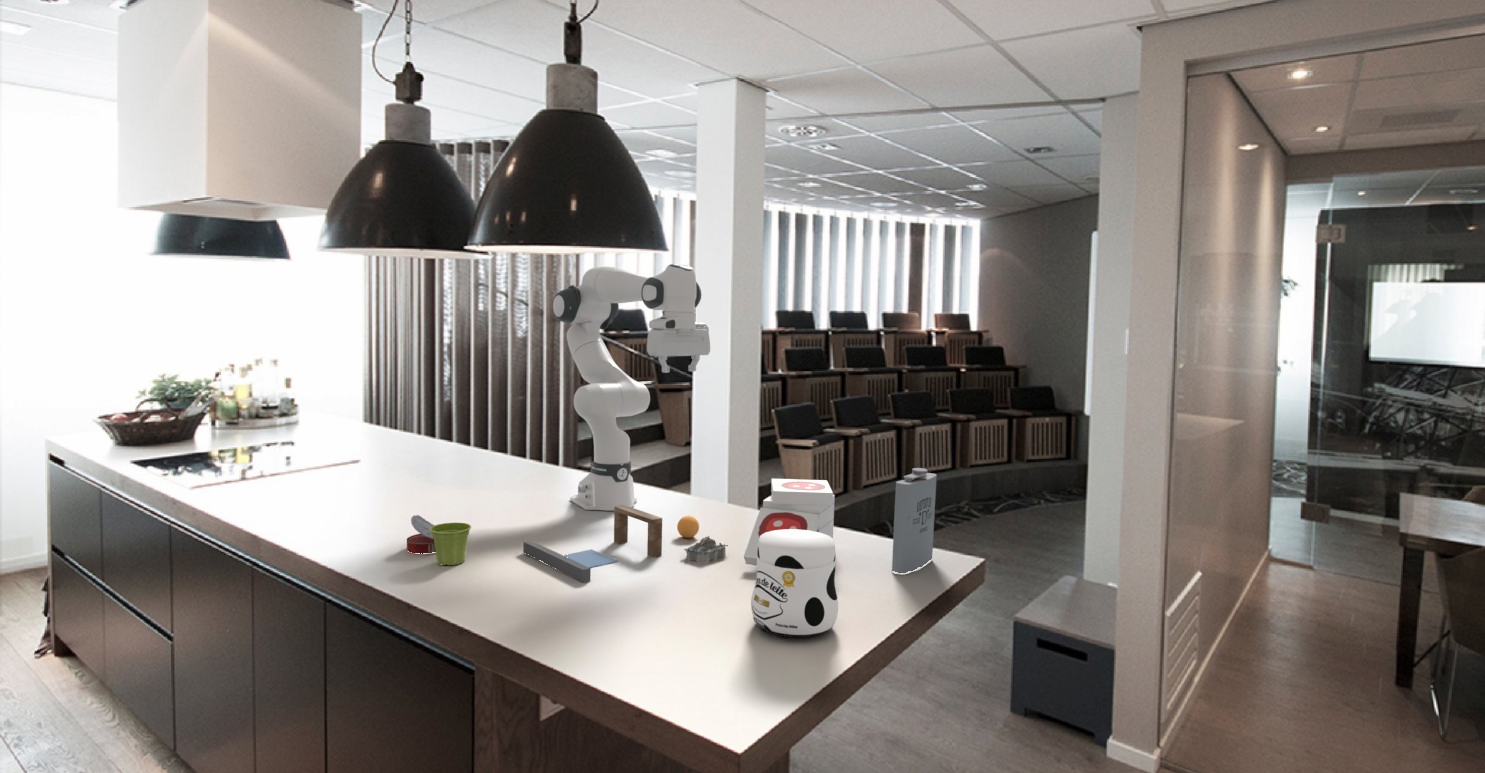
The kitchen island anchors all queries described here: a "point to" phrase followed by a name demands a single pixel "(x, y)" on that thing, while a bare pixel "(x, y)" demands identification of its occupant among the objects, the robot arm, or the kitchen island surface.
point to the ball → (688, 526)
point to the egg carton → (705, 550)
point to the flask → (914, 520)
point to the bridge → (653, 521)
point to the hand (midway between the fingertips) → (679, 371)
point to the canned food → (421, 537)
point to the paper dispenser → (793, 511)
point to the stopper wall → (557, 561)
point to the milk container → (795, 583)
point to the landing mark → (591, 558)
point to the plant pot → (450, 542)
